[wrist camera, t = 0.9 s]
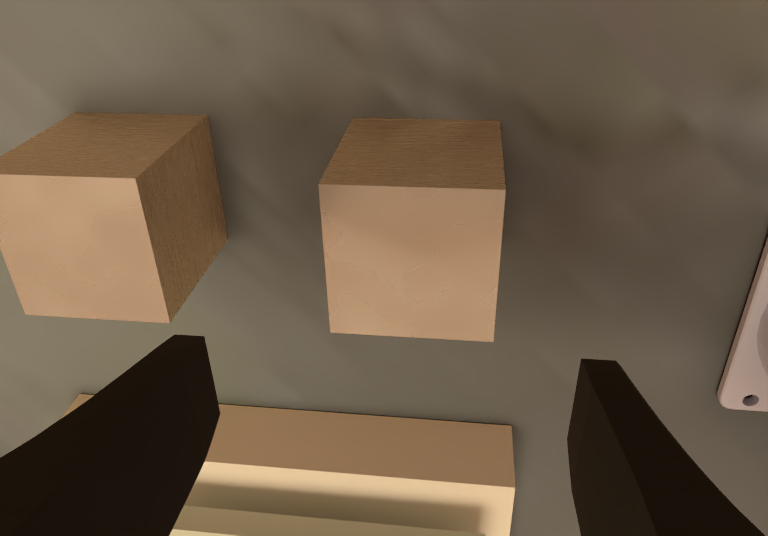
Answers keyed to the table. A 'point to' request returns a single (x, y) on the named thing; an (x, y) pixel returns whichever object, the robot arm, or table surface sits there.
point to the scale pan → (286, 525)
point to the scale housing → (358, 468)
